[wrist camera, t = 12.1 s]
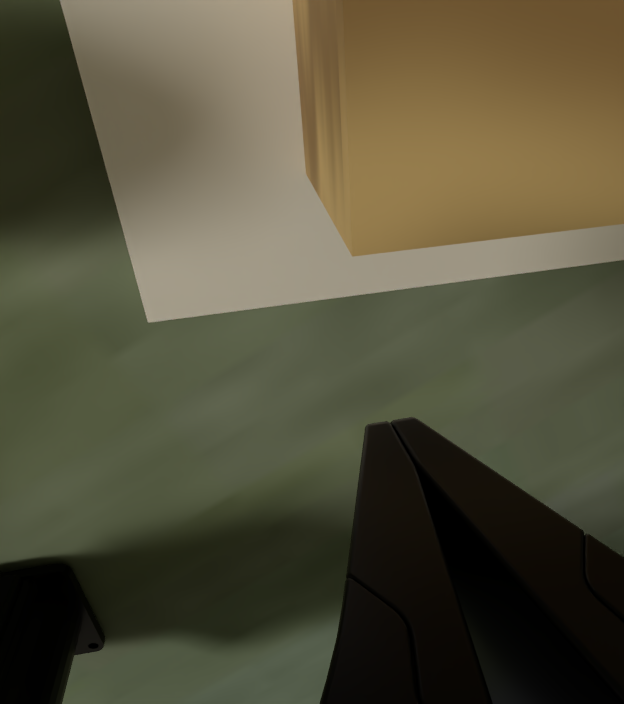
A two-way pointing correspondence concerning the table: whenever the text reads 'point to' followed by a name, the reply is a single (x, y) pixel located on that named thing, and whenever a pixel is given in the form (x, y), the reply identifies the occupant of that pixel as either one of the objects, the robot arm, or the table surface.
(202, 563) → the table surface
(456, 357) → the table surface
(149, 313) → the base board
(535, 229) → the taped shipping carton
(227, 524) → the table surface
